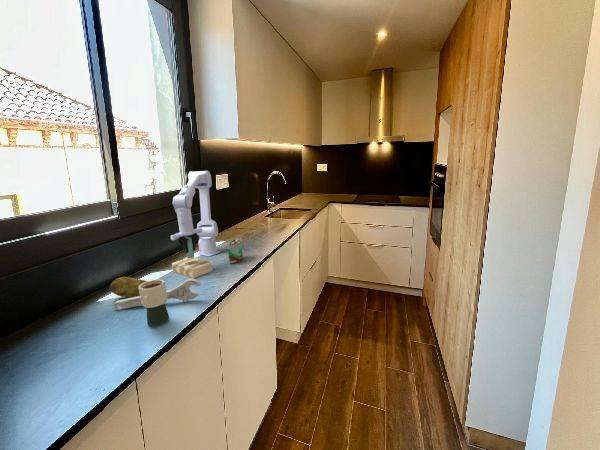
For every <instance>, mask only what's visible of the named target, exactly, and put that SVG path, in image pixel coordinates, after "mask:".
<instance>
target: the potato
mask: <svg viewBox="0 0 600 450" xmlns="http://www.w3.org/2000/svg"><path fill="white" fill-rule="evenodd" d="M147 281H148V280H146V279H145V280H144V279H139V278H133V277H129V276H122V277H120V276H119V277H118V278H114V280H113V281H112V282H111V283H110V285H109V289H110V291H111V292H112V293H113V294H114V295H116V296H118V297H125V298H127V299H128V298H133V297H138V296H140V294H139V285H141V284H142V283H144V282H147Z"/></svg>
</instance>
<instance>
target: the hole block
mask: <svg viewBox="0 0 600 450" xmlns="http://www.w3.org/2000/svg"><path fill="white" fill-rule="evenodd" d="M171 267H172V272H174V273H176V274H180V275H182V276H185V277H188V278H189V279H196V278H198V277H201V276H203V275H206V274H208V273H210V272H213V271H214V270H213V263H212V261H208V260H204V259H201V258H199V257H198V258H197V257H195V256H194V257H193V258H184V259H180V260H177V261H174V262H172V263H171Z"/></svg>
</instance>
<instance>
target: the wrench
mask: <svg viewBox="0 0 600 450" xmlns="http://www.w3.org/2000/svg"><path fill="white" fill-rule="evenodd" d="M192 286H195V287H200V286H201V281H200V280H198V279H196V278H194V279H193V278H188V279H186V280H185V281H184V282H182V283H181V284H179V285H178V286H175V287H174V288H171V289H168V290H167V289H166V293H167V300H171V299H175V300H181V301H182V303H188V301H189V300H190V301H191V300H194V299H196V298H197V297H199V296H200V292H199V291H191V289H190V288H191V287H192ZM141 302H142V298H141V296H138V297H133V298H128V297H127V298H124V299H120V300H119V299H118V300H116V301H115V302H114V303H113V305H112V306H113V307H112V308H113V309H114V310H116V311H119V310H120V311H121V310H125V309H129V308H133V307H138V306H143V305H142V303H141ZM117 304H120V306H119V305H117Z"/></svg>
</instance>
